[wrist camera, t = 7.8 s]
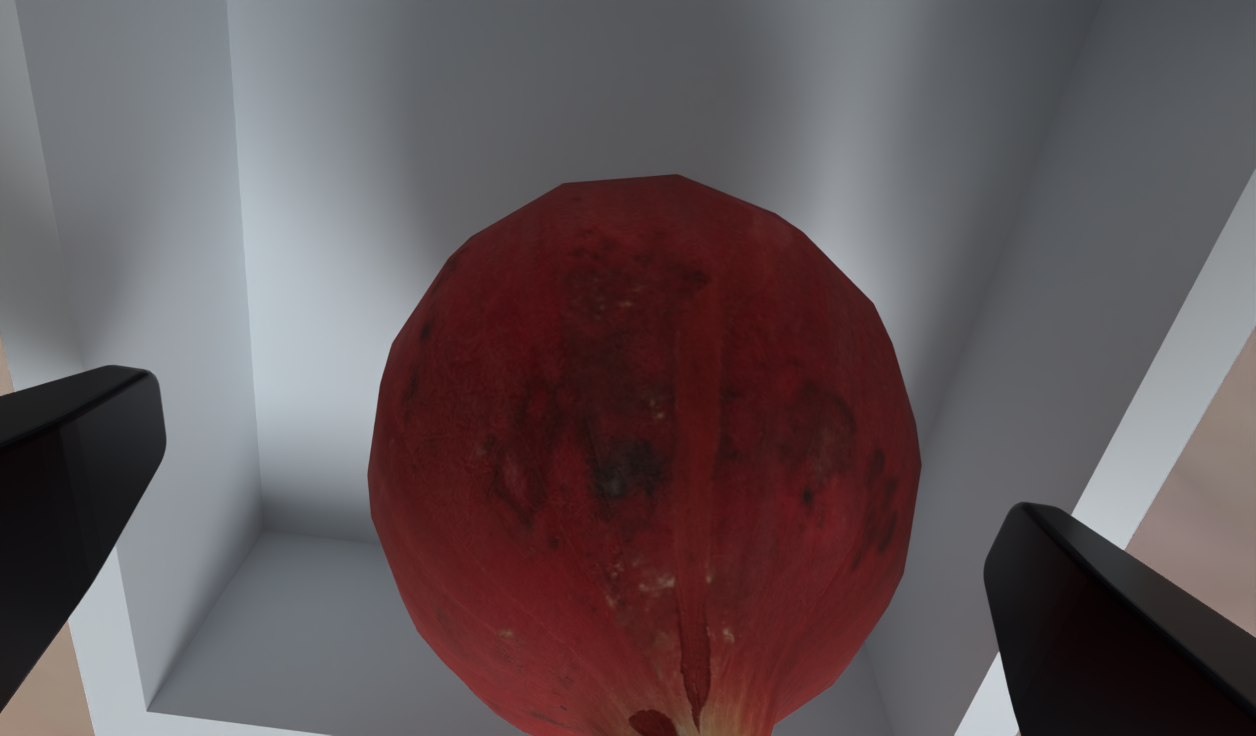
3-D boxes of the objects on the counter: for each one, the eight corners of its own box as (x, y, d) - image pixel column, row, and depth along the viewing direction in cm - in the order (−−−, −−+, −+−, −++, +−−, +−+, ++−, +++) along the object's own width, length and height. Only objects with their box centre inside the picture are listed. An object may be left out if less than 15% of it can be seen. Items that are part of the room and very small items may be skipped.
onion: (383, 132, 11) (74, 538, 4) (813, 88, 11) (1256, 404, 4) (463, 481, 14) (369, 1073, 7) (803, 443, 14) (1051, 983, 7)
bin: (1180, -94, 10) (1507, -104, 6) (877, 624, 16) (948, 849, 12) (162, -285, 10) (-178, -428, 6) (237, 535, 16) (96, 741, 12)
